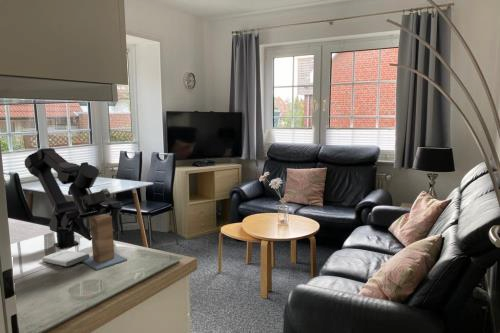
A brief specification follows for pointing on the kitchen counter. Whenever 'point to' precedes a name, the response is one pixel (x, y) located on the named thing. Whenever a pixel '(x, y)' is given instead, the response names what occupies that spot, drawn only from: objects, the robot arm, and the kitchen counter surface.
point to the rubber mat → (105, 264)
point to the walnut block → (102, 238)
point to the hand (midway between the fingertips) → (104, 235)
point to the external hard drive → (65, 257)
